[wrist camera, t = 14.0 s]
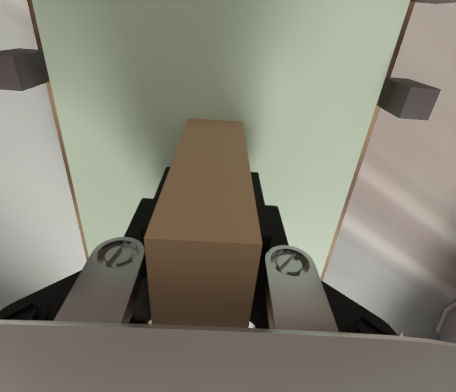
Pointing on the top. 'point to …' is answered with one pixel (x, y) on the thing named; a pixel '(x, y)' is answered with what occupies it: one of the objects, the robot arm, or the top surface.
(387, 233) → the top surface
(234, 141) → the lid
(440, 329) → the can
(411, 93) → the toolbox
